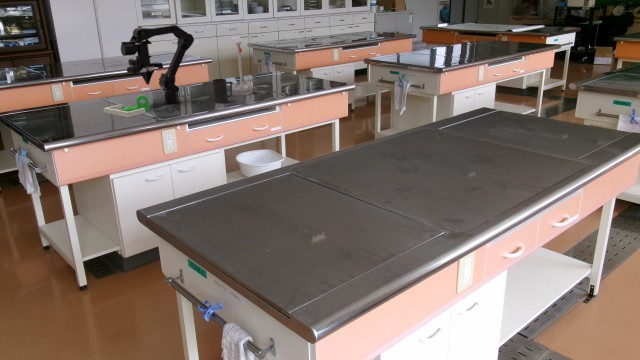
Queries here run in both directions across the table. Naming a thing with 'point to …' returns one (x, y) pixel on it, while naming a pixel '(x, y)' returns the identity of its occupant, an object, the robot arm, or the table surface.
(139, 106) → the mechanical part
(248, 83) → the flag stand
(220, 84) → the mug
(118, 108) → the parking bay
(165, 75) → the robot arm
